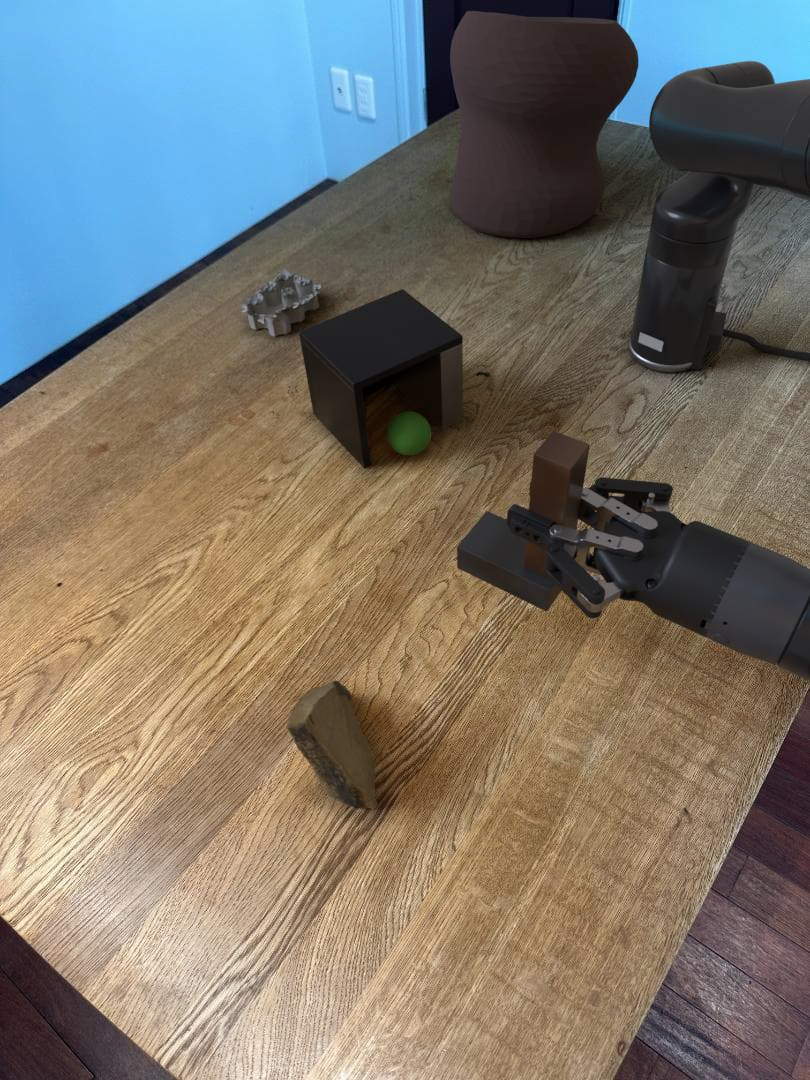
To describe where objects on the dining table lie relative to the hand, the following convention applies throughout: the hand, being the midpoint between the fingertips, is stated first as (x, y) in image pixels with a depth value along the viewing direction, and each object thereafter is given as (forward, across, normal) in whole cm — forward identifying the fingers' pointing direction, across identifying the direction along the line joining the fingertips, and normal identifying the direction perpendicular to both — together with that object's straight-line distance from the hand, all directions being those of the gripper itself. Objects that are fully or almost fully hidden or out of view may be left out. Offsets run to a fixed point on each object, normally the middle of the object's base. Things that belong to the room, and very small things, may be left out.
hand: (521, 501), depth 65 cm
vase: (+39, -74, +18) cm, 86 cm away
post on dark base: (0, 0, +9) cm, 9 cm away
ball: (+22, -15, +14) cm, 31 cm away
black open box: (+28, -18, +17) cm, 38 cm away
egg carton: (+54, -29, +17) cm, 63 cm away
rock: (+5, +19, +17) cm, 26 cm away
